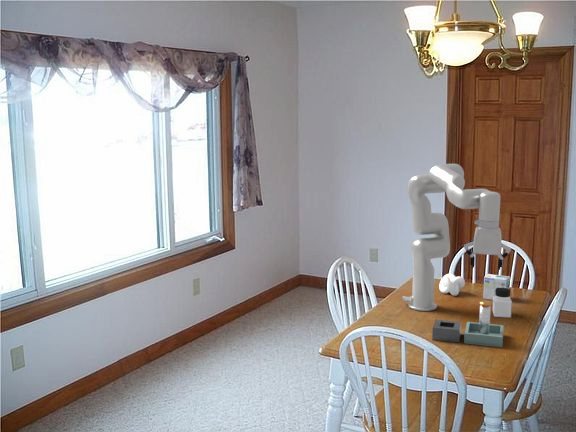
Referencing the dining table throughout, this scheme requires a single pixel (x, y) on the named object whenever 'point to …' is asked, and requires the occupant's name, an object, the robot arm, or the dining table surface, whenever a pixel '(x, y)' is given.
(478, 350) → the dining table surface
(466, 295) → the dining table surface
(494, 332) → the tray
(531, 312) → the dining table surface
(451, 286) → the white irregular lump
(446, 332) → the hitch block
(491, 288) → the light bulb box
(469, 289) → the dining table surface
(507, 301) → the medicine bottle
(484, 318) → the pin
